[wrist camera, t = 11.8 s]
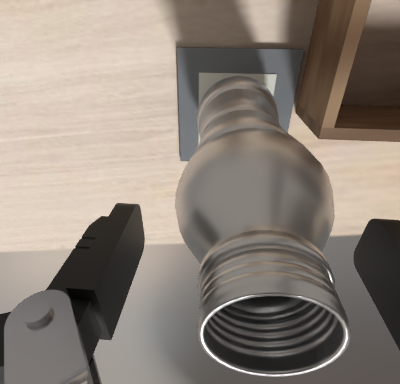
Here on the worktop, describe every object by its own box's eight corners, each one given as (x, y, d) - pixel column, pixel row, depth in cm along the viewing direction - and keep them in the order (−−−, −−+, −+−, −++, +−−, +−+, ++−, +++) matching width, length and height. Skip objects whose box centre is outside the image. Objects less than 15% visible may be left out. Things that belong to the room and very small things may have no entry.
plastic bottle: (261, 57, 21) (438, 186, 4) (280, 134, 24) (421, 391, 7) (187, 88, 22) (77, 273, 5) (214, 156, 25) (198, 406, 9)
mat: (177, 47, 21) (176, 47, 21) (302, 49, 20) (304, 49, 20) (181, 159, 26) (180, 161, 26) (280, 163, 26) (281, 165, 25)
